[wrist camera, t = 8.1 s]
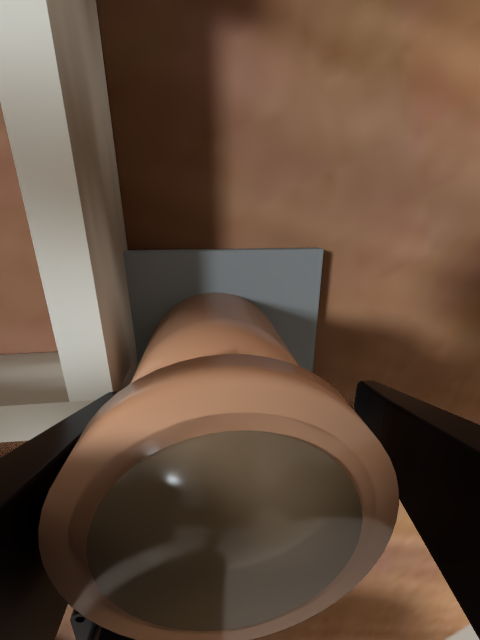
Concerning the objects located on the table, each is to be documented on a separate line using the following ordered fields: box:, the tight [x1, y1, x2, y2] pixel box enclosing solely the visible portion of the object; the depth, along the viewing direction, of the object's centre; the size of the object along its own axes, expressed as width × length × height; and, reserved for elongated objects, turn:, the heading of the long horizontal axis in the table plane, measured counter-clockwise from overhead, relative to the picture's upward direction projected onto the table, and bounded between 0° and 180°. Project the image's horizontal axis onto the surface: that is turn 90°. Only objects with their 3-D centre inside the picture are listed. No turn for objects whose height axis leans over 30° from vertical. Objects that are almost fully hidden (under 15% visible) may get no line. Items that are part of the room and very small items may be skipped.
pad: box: [123, 248, 324, 373], centre depth 12 cm, size 8×8×1 cm
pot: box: [38, 292, 399, 640], centre depth 8 cm, size 6×6×7 cm
